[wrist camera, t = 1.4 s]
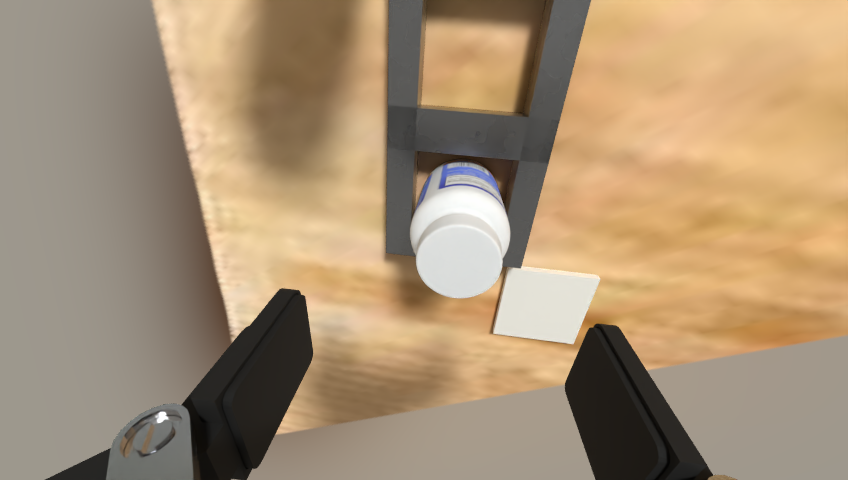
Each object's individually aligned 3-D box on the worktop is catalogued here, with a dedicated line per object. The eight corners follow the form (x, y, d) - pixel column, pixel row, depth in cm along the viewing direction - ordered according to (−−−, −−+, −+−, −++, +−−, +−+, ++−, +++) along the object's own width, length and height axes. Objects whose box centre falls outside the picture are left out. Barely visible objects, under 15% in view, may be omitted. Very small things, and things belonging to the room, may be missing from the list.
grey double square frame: (591, -46, 16) (606, -61, 14) (516, 254, 25) (520, 268, 23) (397, -57, 17) (390, -72, 15) (391, 240, 25) (386, 252, 23)
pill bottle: (453, 239, 25) (447, 328, 16) (408, 187, 23) (375, 255, 14) (513, 200, 23) (543, 278, 14) (468, 139, 21) (472, 186, 12)
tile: (597, 274, 25) (600, 279, 24) (571, 338, 28) (573, 344, 28) (507, 264, 25) (508, 268, 25) (492, 328, 28) (493, 333, 28)
